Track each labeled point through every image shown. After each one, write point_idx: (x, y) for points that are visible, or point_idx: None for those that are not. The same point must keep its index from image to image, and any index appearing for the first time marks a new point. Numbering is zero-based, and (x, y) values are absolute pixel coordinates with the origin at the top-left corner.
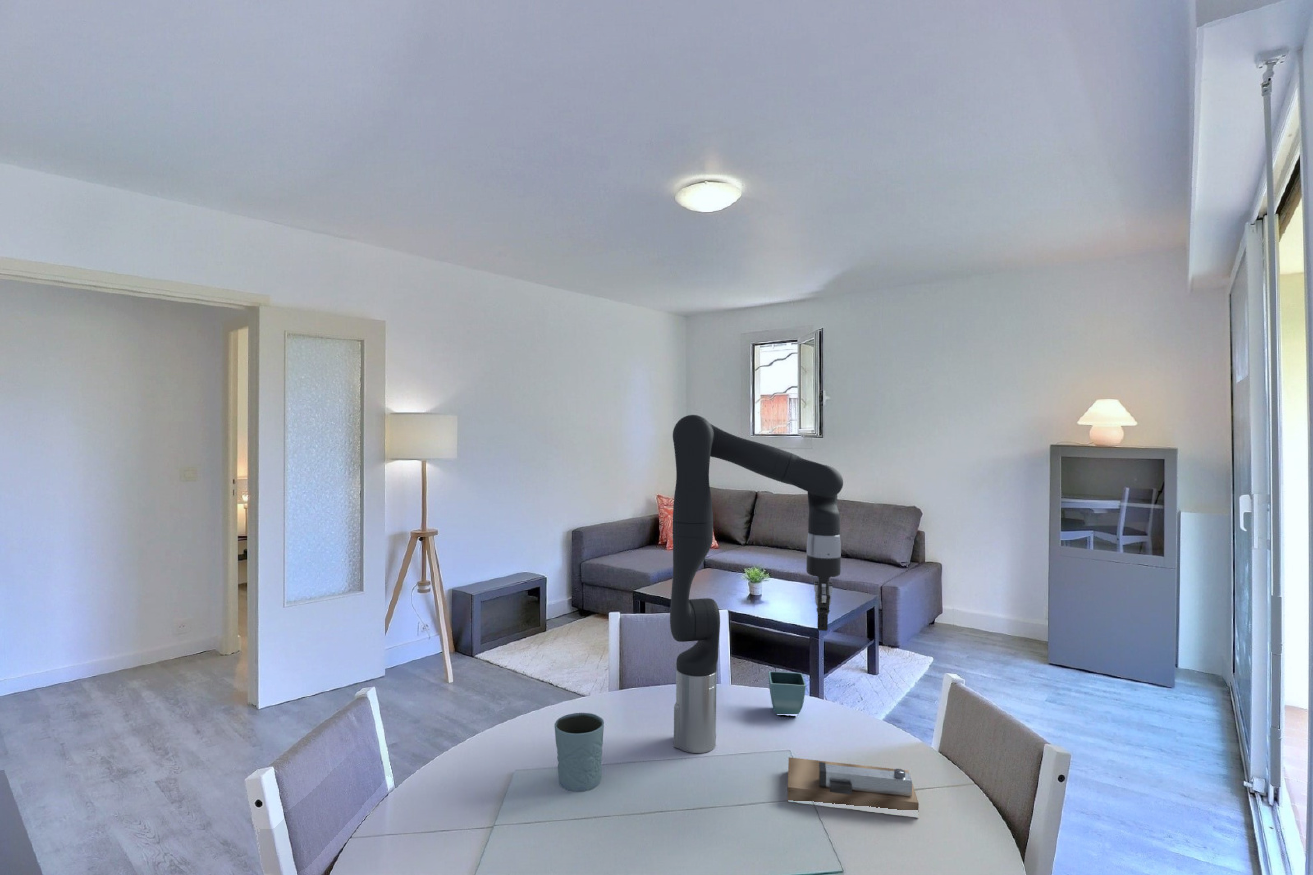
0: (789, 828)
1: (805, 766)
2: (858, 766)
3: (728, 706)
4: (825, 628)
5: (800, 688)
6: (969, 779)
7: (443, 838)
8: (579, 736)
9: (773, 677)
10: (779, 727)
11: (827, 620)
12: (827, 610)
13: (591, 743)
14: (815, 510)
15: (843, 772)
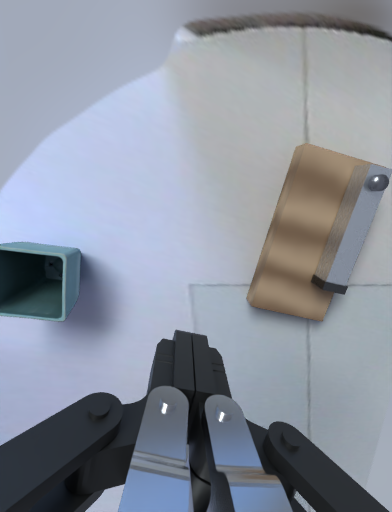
0: (357, 319)
1: (277, 290)
2: (285, 217)
3: (48, 345)
4: (215, 351)
5: (68, 264)
6: (291, 30)
7: None
8: None
9: (2, 300)
10: (118, 284)
11: (211, 367)
12: (326, 469)
13: None
14: None
15: (351, 263)
